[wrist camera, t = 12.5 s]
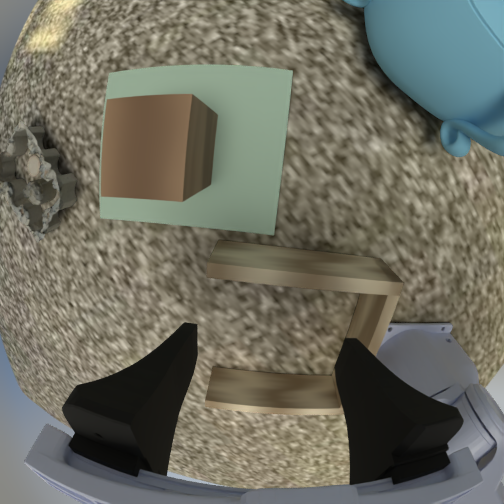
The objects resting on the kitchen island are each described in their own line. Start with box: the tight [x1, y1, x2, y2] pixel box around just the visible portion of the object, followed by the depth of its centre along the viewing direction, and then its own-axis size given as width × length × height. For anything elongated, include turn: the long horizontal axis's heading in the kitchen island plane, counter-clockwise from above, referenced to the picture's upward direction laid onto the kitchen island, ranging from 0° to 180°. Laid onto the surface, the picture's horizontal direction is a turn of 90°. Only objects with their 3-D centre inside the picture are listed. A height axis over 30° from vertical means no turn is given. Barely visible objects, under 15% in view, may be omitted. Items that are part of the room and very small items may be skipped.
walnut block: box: [101, 94, 218, 202], centre depth 15 cm, size 4×5×7 cm
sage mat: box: [100, 65, 293, 235], centre depth 18 cm, size 14×12×1 cm
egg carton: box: [0, 121, 77, 242], centre depth 18 cm, size 10×7×4 cm
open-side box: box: [205, 240, 404, 415], centre depth 21 cm, size 13×14×4 cm
